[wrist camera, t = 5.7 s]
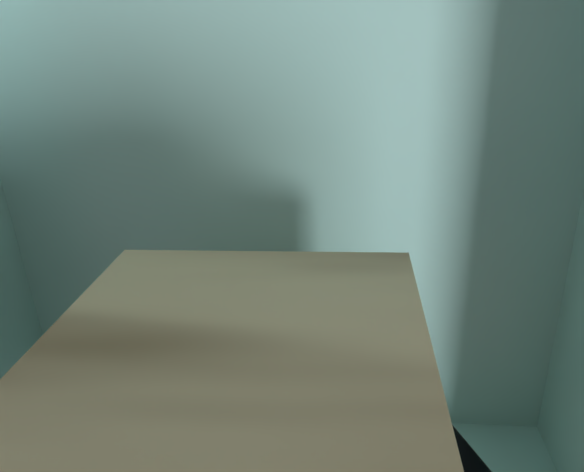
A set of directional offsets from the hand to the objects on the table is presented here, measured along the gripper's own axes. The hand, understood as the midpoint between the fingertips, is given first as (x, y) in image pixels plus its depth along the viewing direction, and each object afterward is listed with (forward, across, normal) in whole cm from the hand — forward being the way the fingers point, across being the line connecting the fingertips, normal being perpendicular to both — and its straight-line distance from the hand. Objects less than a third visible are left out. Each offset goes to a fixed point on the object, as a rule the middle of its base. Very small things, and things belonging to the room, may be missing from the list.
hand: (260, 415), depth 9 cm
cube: (+1, 0, 0) cm, 1 cm away
